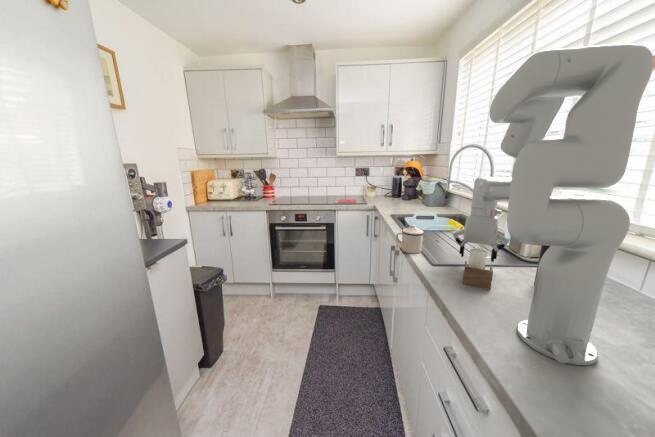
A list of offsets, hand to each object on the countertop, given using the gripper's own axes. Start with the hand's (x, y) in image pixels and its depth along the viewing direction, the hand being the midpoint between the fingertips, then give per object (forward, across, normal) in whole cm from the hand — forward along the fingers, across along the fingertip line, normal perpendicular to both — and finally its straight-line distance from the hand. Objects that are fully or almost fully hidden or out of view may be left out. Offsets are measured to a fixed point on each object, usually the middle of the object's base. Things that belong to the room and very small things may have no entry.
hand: (476, 258), depth 89 cm
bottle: (+4, -19, +8) cm, 21 cm away
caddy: (+4, 0, +14) cm, 15 cm away
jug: (+4, 0, +3) cm, 5 cm away
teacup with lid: (+4, +26, -8) cm, 27 cm away
